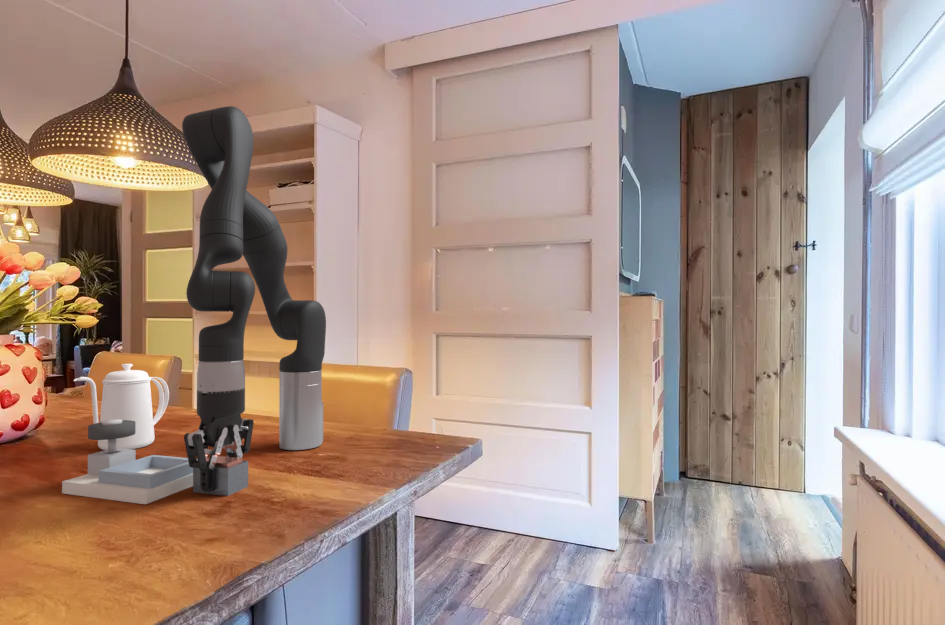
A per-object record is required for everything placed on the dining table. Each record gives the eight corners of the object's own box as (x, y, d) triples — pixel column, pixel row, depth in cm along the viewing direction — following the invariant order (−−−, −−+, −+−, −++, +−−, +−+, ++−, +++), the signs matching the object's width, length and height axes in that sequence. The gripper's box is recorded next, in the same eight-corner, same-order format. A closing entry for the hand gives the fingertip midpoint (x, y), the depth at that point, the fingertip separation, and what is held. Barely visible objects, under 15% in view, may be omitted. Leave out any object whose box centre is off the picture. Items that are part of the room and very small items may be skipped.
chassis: (131, 471, 102) (132, 442, 102) (208, 479, 96) (208, 449, 96) (62, 493, 89) (62, 460, 89) (145, 504, 84) (145, 469, 84)
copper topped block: (214, 483, 95) (214, 454, 95) (248, 486, 93) (248, 457, 93) (193, 492, 90) (193, 462, 90) (227, 495, 88) (228, 465, 88)
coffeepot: (51, 459, 110) (52, 368, 110) (148, 433, 134) (148, 359, 134) (95, 462, 108) (96, 370, 108) (185, 435, 132) (186, 359, 132)
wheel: (115, 447, 99) (115, 416, 99) (144, 450, 97) (144, 418, 97) (77, 456, 92) (77, 423, 92) (108, 460, 90) (108, 425, 90)
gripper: (233, 380, 99) (232, 472, 99) (169, 391, 86) (168, 497, 86) (267, 382, 97) (266, 475, 97) (207, 393, 83) (206, 502, 83)
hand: (220, 485), depth 91 cm, fingers closed on copper topped block, 5 cm apart
